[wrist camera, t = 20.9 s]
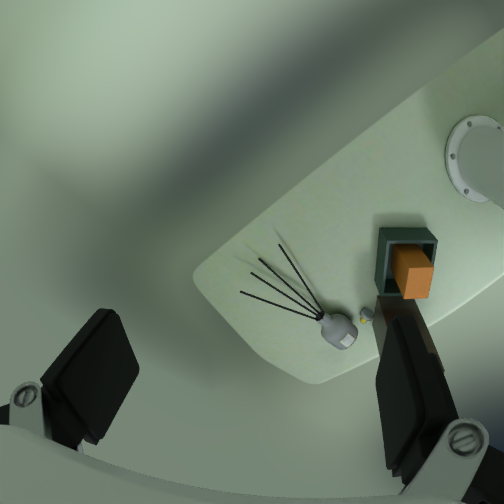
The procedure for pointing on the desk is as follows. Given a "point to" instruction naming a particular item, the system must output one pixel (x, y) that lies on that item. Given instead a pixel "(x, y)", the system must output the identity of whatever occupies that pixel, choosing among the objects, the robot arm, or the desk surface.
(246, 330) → the desk surface
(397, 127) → the desk surface
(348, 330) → the reed diffuser
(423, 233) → the bin
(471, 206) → the desk surface
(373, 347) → the desk surface
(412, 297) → the orange block
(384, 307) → the stand
